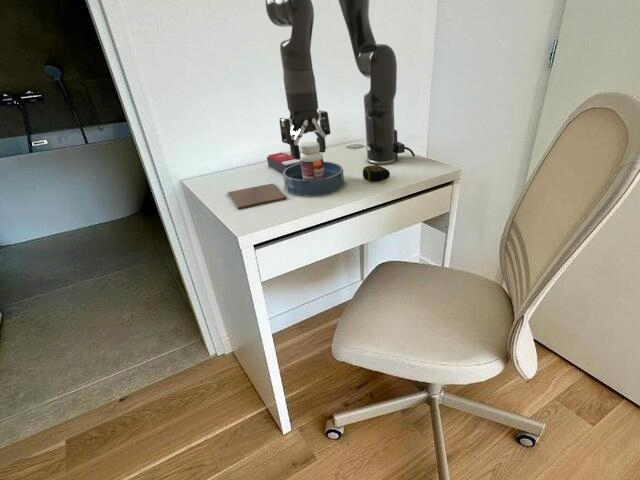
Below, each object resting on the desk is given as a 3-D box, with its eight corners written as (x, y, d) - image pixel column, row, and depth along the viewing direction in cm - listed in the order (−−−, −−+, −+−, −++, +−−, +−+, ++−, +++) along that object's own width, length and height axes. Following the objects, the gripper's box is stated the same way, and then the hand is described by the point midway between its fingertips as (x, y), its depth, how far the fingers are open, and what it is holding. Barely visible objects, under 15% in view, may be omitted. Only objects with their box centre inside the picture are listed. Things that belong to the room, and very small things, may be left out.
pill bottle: (319, 189, 106) (313, 148, 100) (299, 187, 108) (292, 146, 102) (330, 182, 111) (325, 141, 105) (311, 180, 113) (305, 140, 106)
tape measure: (391, 181, 113) (390, 168, 110) (370, 186, 109) (369, 173, 107) (379, 174, 117) (378, 162, 115) (359, 179, 114) (358, 166, 112)
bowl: (330, 172, 119) (329, 157, 116) (353, 189, 108) (352, 173, 105) (278, 182, 112) (275, 167, 109) (297, 201, 101) (294, 184, 98)
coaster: (272, 185, 110) (272, 183, 110) (286, 199, 102) (285, 197, 102) (228, 194, 105) (228, 191, 105) (238, 209, 97) (238, 207, 96)
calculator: (297, 148, 128) (319, 156, 118) (300, 161, 130) (321, 170, 120) (265, 154, 122) (285, 163, 112) (268, 168, 125) (288, 178, 114)
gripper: (286, 94, 89) (297, 164, 98) (332, 87, 99) (338, 152, 108) (267, 91, 93) (279, 159, 102) (313, 85, 102) (320, 147, 112)
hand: (309, 155), depth 105 cm, fingers open, 8 cm apart
